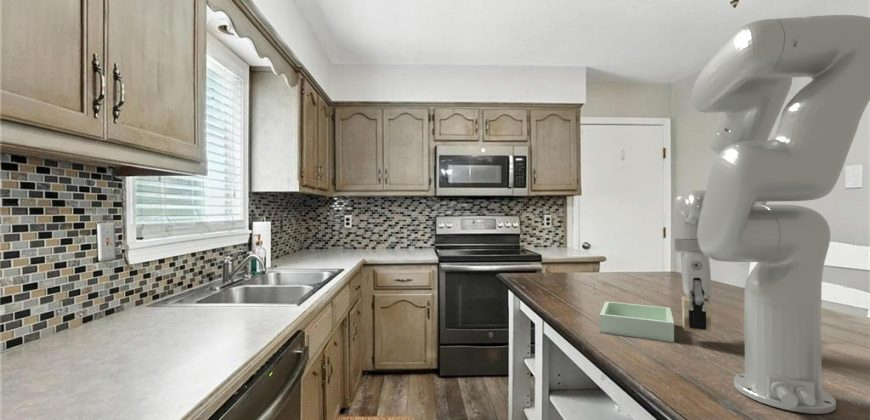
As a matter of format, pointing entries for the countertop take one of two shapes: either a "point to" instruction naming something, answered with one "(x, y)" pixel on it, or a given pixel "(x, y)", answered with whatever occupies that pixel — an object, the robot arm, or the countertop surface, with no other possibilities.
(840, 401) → the countertop surface
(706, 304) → the beech block
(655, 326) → the bin
